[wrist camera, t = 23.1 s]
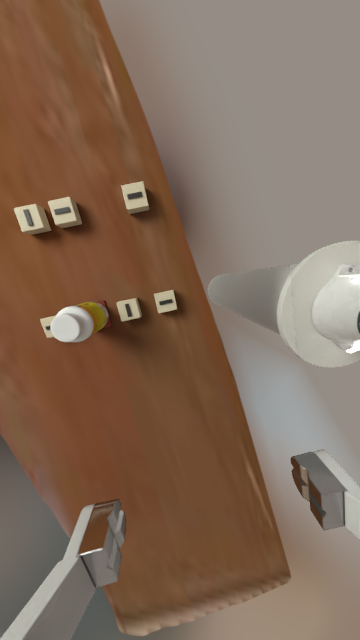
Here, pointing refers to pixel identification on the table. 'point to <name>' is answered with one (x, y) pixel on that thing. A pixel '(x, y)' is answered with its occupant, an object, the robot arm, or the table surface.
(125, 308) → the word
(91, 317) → the supplement bottle
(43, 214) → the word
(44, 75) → the table surface
